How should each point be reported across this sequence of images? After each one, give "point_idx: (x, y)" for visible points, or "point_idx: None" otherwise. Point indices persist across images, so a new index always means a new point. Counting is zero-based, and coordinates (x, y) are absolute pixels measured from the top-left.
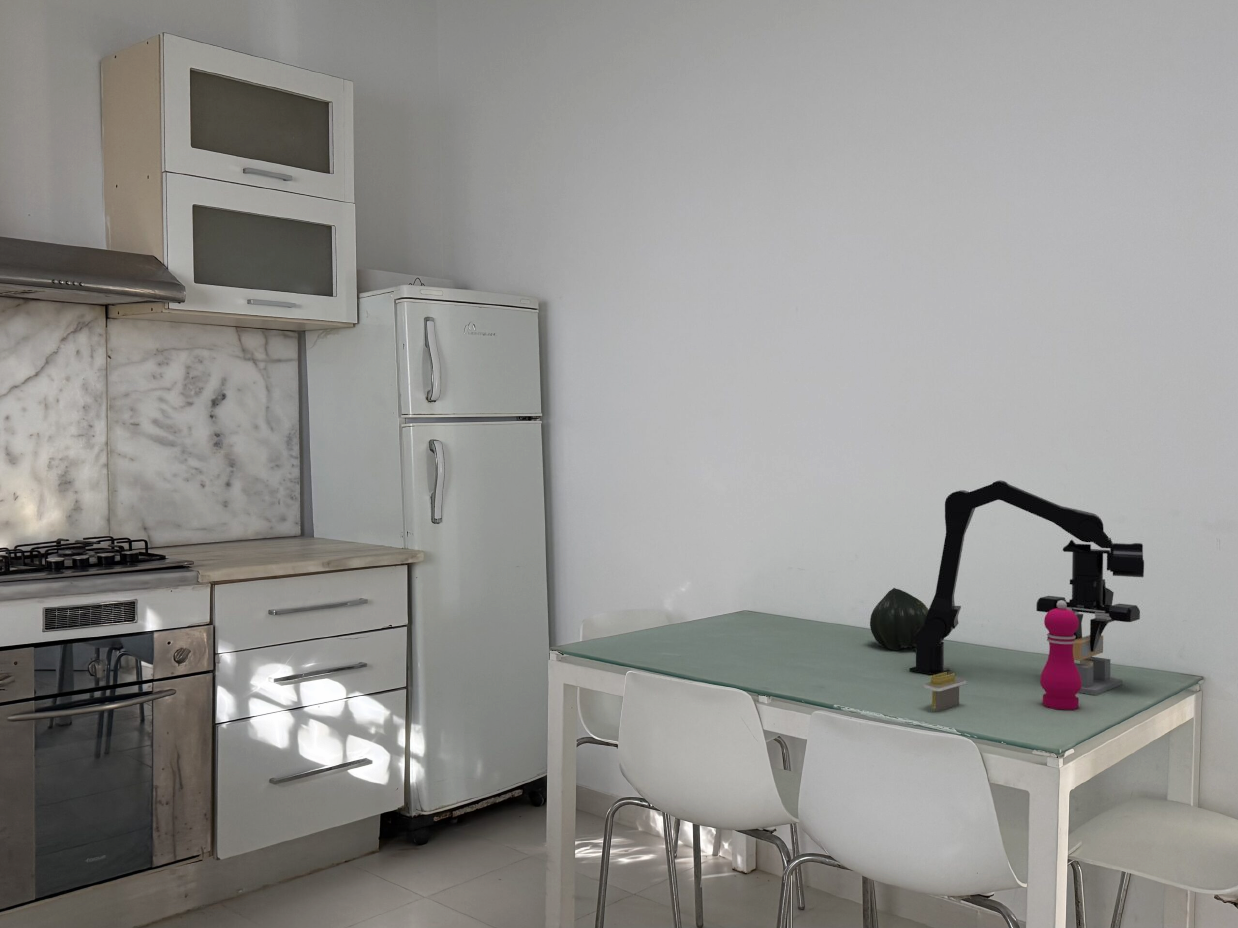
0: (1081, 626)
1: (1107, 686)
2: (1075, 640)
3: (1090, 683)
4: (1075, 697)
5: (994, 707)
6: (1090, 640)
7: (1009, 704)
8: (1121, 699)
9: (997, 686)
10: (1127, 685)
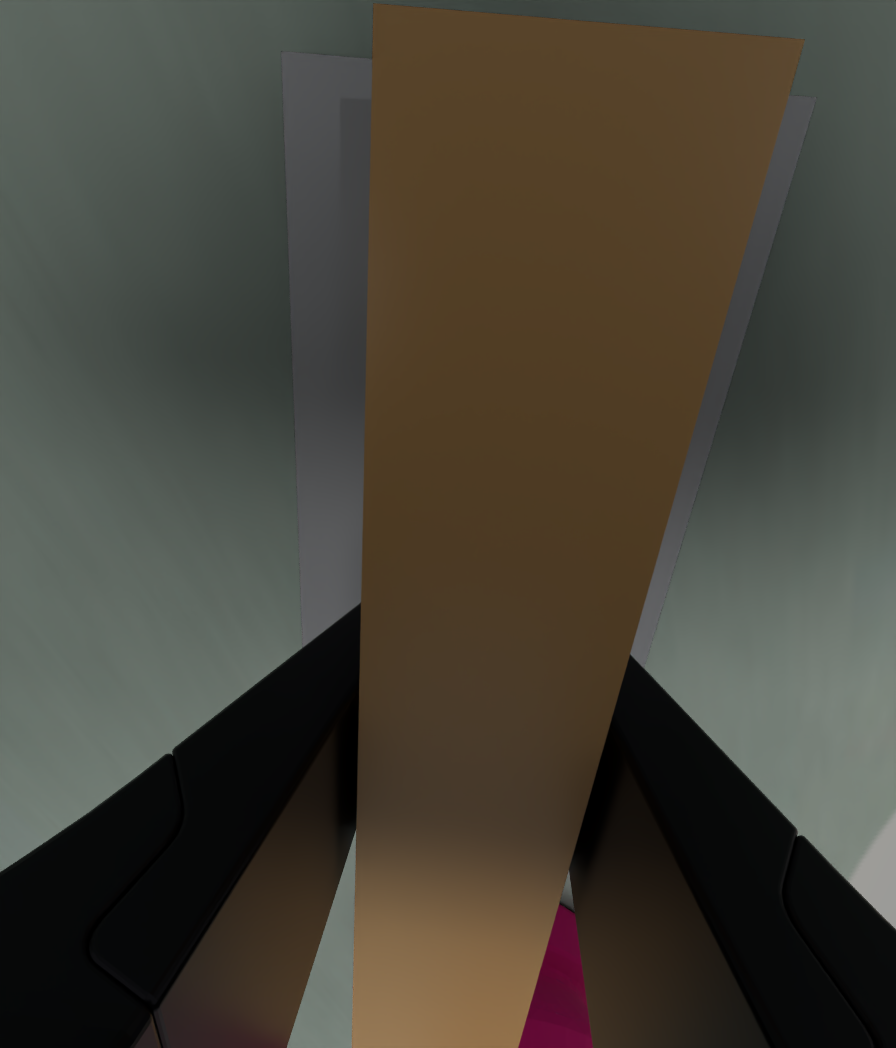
0: (208, 933)
1: (686, 517)
2: (385, 994)
3: None
4: (585, 998)
5: (311, 1036)
6: (582, 902)
7: (330, 992)
8: (794, 695)
9: (94, 773)
10: (850, 130)
